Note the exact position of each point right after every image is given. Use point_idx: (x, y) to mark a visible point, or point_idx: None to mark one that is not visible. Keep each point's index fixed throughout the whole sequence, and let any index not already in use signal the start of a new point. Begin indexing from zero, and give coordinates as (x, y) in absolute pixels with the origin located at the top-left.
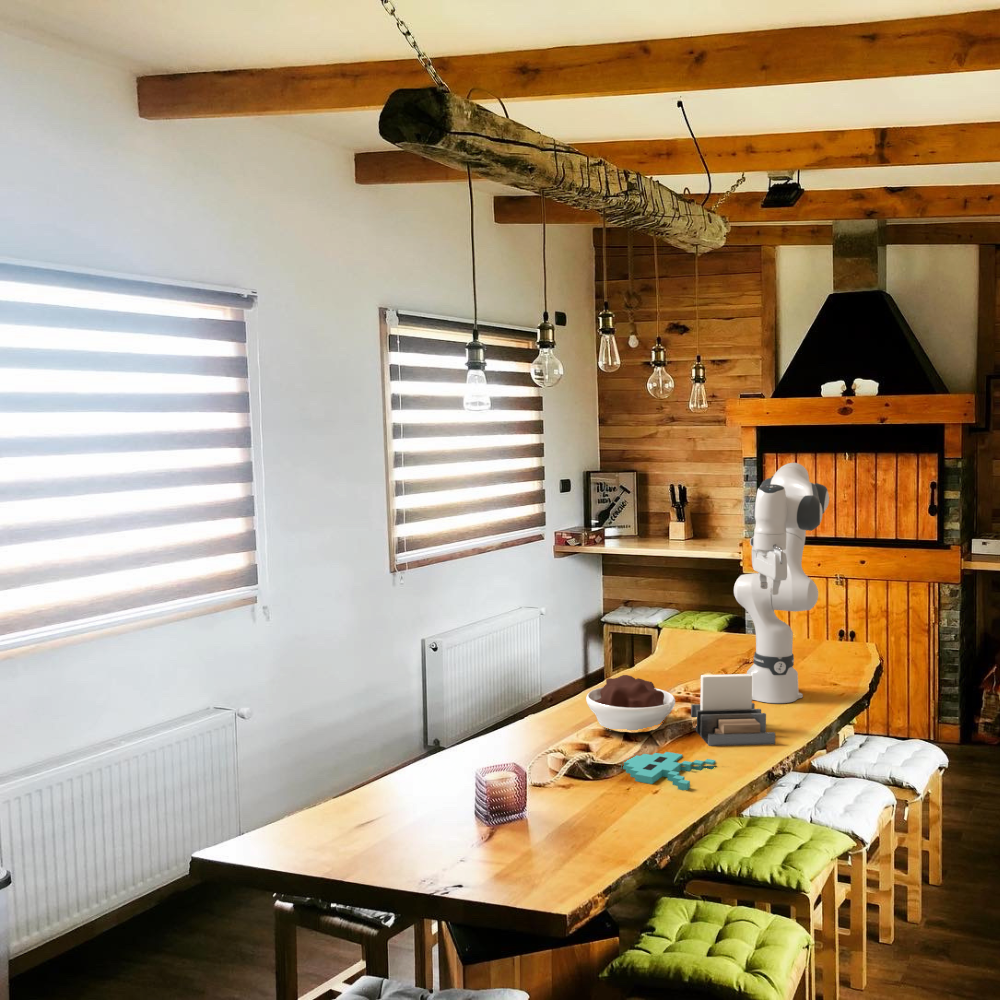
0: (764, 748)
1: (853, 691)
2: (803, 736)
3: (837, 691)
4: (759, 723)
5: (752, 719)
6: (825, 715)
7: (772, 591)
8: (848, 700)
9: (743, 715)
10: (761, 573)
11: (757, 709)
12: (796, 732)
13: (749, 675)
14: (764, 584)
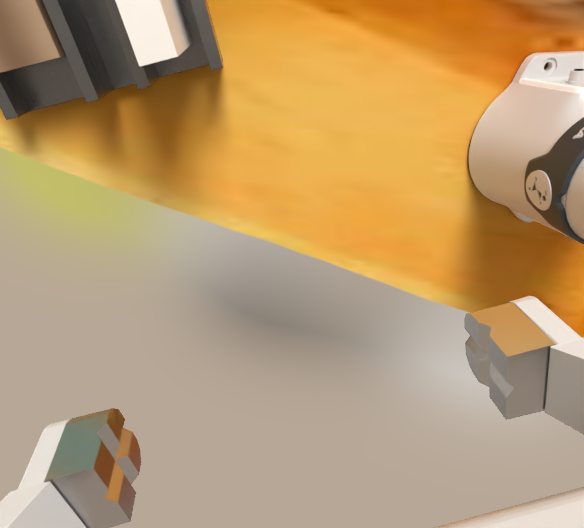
0: None
1: None
2: (171, 196)
3: (564, 296)
4: (3, 71)
5: (48, 48)
6: (366, 259)
7: (36, 452)
8: None
9: (50, 14)
10: (469, 524)
11: (137, 75)
12: (204, 181)
13: (146, 52)
14: (499, 372)
